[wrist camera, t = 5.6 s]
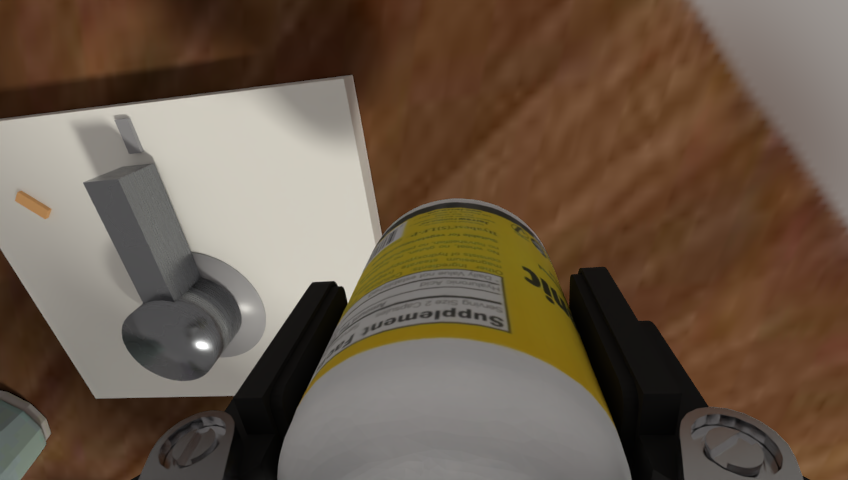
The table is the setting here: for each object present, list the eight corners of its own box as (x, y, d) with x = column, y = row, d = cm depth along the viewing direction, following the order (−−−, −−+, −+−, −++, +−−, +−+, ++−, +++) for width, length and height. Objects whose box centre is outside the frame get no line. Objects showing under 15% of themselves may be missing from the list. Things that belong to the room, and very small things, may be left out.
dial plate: (352, 74, 18) (342, 79, 16) (407, 373, 25) (403, 395, 24) (-40, 123, 21) (-80, 131, 19) (113, 380, 28) (93, 401, 27)
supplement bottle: (557, 342, 13) (725, 934, 4) (391, 355, 14) (257, 866, 5) (546, 178, 11) (831, 683, 2) (352, 205, 12) (20, 641, 3)
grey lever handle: (252, 341, 23) (226, 379, 20) (179, 344, 24) (145, 382, 21) (183, 160, 19) (138, 180, 16) (94, 169, 19) (39, 190, 17)
